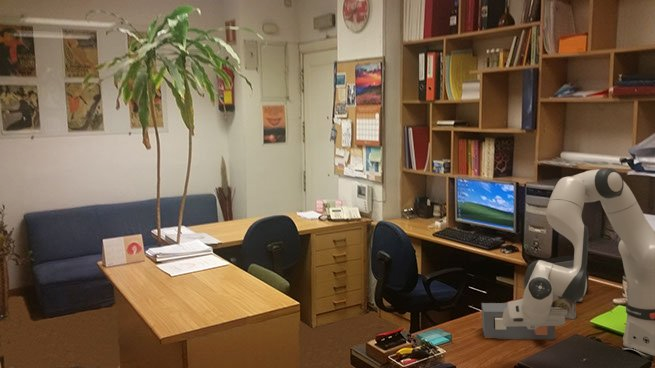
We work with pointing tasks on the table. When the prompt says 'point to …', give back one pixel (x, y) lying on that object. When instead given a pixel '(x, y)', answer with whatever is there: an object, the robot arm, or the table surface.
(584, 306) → the table surface
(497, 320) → the beige plug
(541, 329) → the rust plug
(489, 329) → the block
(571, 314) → the coffee box
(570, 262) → the electrical component
